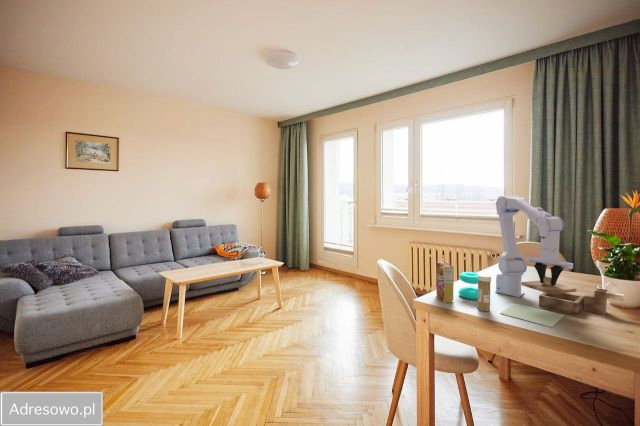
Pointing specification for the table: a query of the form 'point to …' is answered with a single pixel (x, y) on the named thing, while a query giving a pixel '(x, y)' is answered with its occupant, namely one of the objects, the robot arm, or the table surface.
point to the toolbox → (562, 302)
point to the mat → (533, 315)
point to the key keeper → (596, 301)
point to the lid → (548, 286)
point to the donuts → (469, 291)
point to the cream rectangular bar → (613, 296)
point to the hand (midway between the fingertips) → (548, 284)
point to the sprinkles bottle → (484, 292)
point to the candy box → (445, 281)
